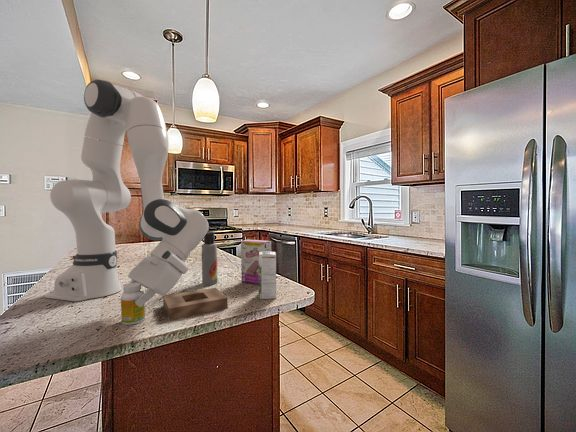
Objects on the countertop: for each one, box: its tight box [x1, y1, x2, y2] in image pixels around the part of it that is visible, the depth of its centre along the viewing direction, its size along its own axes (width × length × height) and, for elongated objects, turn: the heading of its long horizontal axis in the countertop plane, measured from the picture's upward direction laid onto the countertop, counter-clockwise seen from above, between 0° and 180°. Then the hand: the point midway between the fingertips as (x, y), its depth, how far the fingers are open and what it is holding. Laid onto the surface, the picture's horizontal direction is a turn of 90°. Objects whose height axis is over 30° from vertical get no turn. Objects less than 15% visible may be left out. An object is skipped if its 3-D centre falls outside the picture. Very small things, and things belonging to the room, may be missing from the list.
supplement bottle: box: [120, 282, 146, 326], centre depth 74 cm, size 5×5×10 cm
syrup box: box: [257, 251, 277, 300], centre depth 93 cm, size 6×6×14 cm
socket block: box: [162, 287, 229, 320], centre depth 84 cm, size 16×12×3 cm
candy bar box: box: [240, 239, 272, 285], centre depth 109 cm, size 11×5×16 cm, turn 66°
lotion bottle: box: [201, 231, 218, 286], centre depth 109 cm, size 6×6×20 cm
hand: (130, 301), depth 73 cm, fingers open, 8 cm apart
